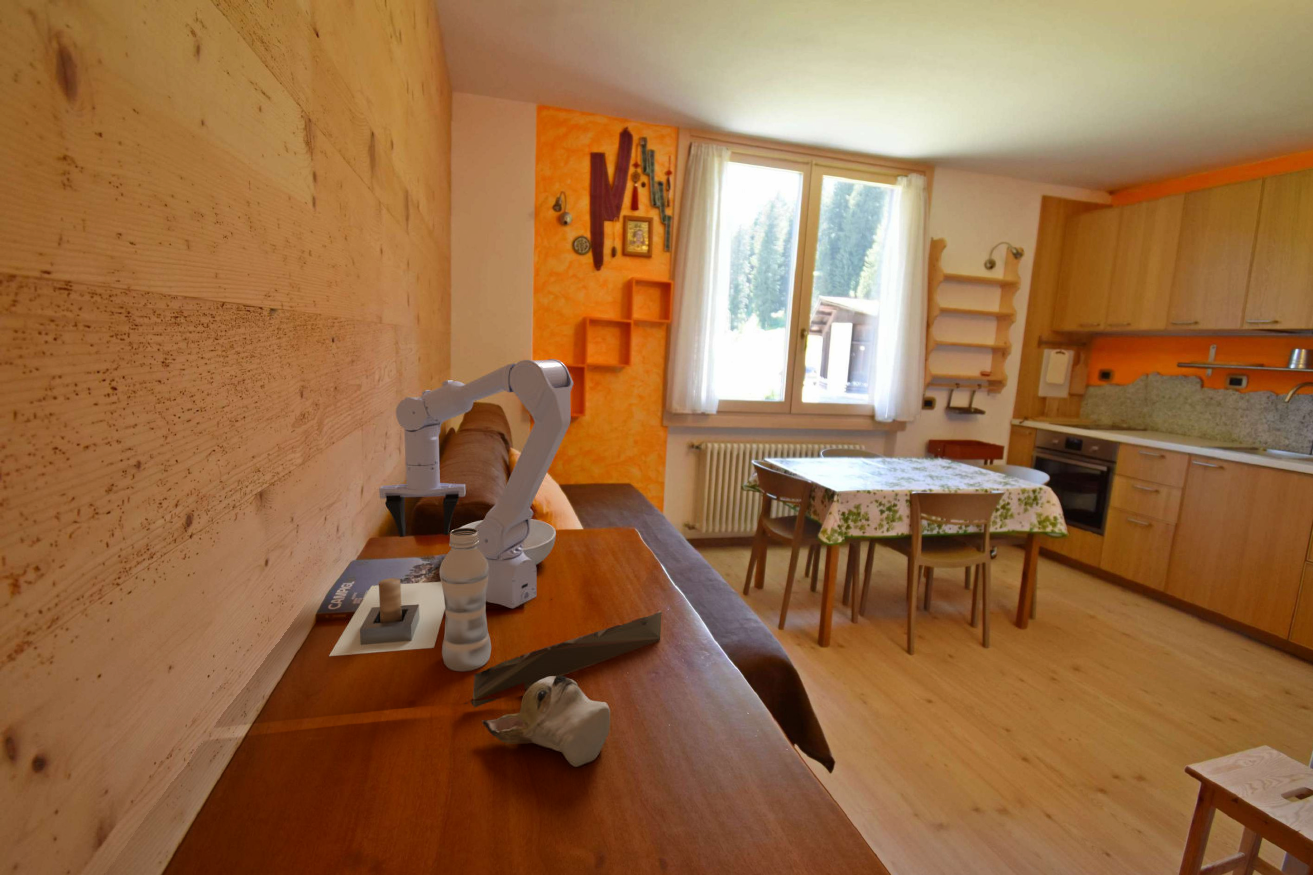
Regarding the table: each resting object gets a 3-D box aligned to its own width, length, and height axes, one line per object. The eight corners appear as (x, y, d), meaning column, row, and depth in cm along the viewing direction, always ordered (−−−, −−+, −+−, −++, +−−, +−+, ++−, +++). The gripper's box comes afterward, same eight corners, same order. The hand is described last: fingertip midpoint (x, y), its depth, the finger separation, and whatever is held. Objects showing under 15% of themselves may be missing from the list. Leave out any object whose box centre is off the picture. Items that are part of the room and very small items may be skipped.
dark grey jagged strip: (655, 638, 92) (656, 606, 91) (660, 641, 91) (661, 609, 90) (470, 704, 73) (469, 665, 73) (474, 709, 72) (473, 670, 72)
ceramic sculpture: (574, 720, 57) (475, 677, 65) (576, 799, 58) (478, 747, 66) (635, 672, 66) (541, 640, 74) (636, 742, 67) (543, 702, 75)
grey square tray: (372, 622, 91) (371, 607, 90) (419, 618, 92) (419, 604, 92) (360, 644, 84) (359, 628, 84) (411, 640, 86) (410, 625, 85)
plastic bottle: (477, 682, 78) (475, 542, 74) (432, 675, 79) (428, 536, 76) (499, 657, 84) (498, 527, 81) (457, 651, 85) (454, 522, 82)
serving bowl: (429, 575, 112) (428, 541, 111) (490, 541, 132) (489, 512, 131) (523, 592, 106) (523, 556, 105) (572, 554, 126) (572, 524, 125)
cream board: (371, 590, 104) (371, 585, 104) (452, 586, 107) (452, 581, 107) (329, 662, 81) (328, 655, 81) (434, 653, 84) (433, 647, 84)
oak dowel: (406, 629, 89) (404, 580, 88) (389, 637, 86) (387, 587, 85) (393, 624, 90) (391, 576, 89) (376, 632, 88) (374, 583, 86)
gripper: (466, 457, 109) (467, 525, 111) (384, 458, 106) (387, 528, 108) (462, 465, 102) (464, 538, 105) (375, 466, 99) (378, 541, 101)
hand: (424, 534), depth 106 cm, fingers open, 7 cm apart
